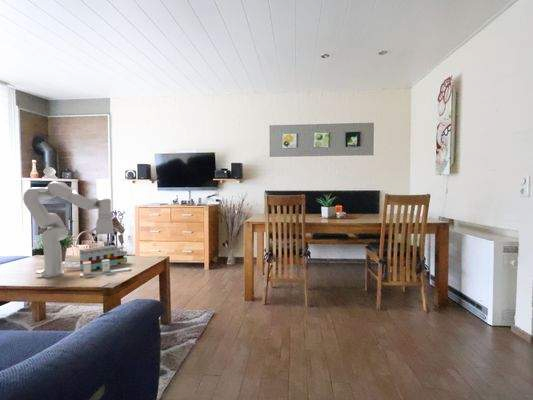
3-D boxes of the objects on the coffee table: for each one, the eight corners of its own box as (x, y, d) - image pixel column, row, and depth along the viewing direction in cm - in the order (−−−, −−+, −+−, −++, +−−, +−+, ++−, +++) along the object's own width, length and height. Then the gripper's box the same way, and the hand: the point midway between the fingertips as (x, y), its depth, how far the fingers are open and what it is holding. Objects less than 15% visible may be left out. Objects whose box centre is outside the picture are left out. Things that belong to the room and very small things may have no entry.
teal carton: (102, 273, 202) (102, 261, 202) (101, 271, 208) (101, 259, 208) (110, 272, 205) (109, 261, 204) (109, 270, 210) (108, 259, 210)
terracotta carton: (83, 276, 196) (82, 264, 196) (83, 274, 202) (82, 262, 202) (91, 275, 199) (91, 263, 199) (90, 273, 204) (90, 261, 204)
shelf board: (80, 279, 193) (80, 276, 193) (79, 275, 203) (79, 272, 203) (131, 272, 209) (131, 269, 209) (128, 268, 219) (128, 266, 218)
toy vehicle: (127, 264, 233) (127, 244, 233) (85, 272, 209) (84, 251, 209) (122, 262, 238) (122, 243, 238) (80, 270, 214) (79, 249, 214)
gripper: (118, 216, 213) (118, 240, 213) (89, 217, 204) (89, 242, 204) (119, 216, 207) (119, 241, 207) (90, 217, 197) (90, 244, 198)
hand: (104, 242), depth 206 cm, fingers open, 9 cm apart
